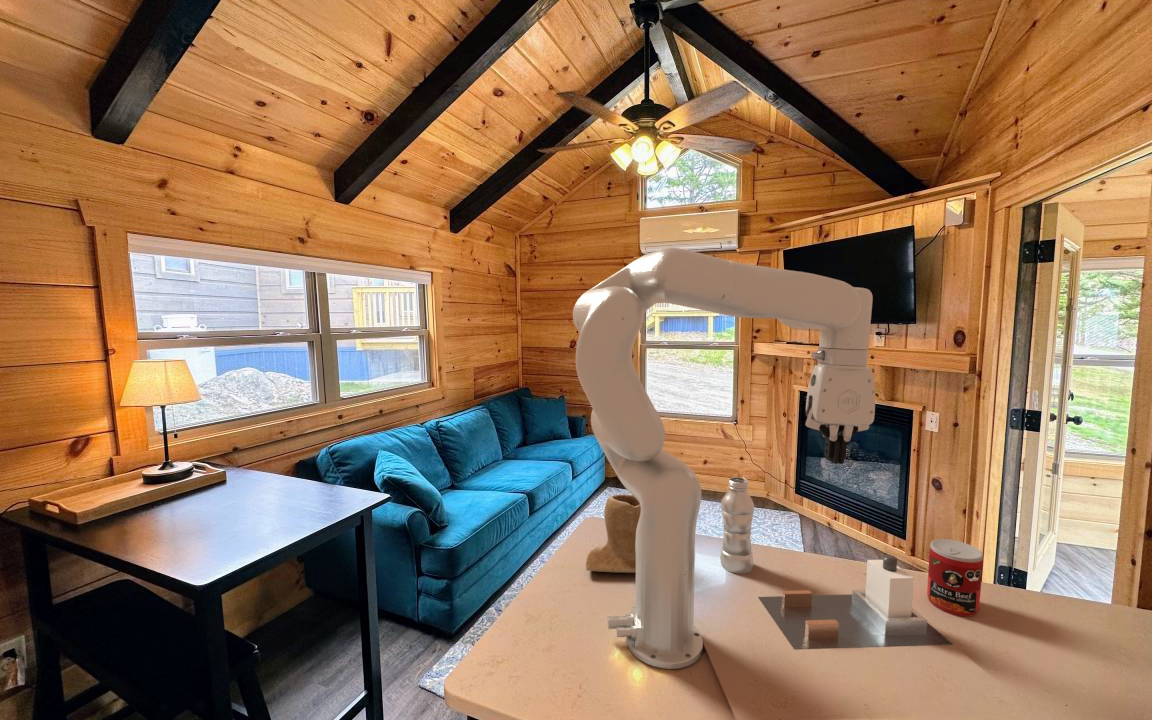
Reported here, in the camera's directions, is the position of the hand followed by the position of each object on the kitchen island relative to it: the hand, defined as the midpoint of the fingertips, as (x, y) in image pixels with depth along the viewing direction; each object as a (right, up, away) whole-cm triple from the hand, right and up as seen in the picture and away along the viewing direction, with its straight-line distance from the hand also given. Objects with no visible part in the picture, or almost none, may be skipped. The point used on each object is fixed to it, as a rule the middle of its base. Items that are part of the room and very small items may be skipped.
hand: (834, 461), depth 84 cm
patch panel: (+1, -28, -1) cm, 28 cm away
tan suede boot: (-36, -27, +19) cm, 49 cm away
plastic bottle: (-12, -27, +16) cm, 34 cm away
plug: (+8, -27, -1) cm, 28 cm away
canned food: (+24, -28, +4) cm, 37 cm away
